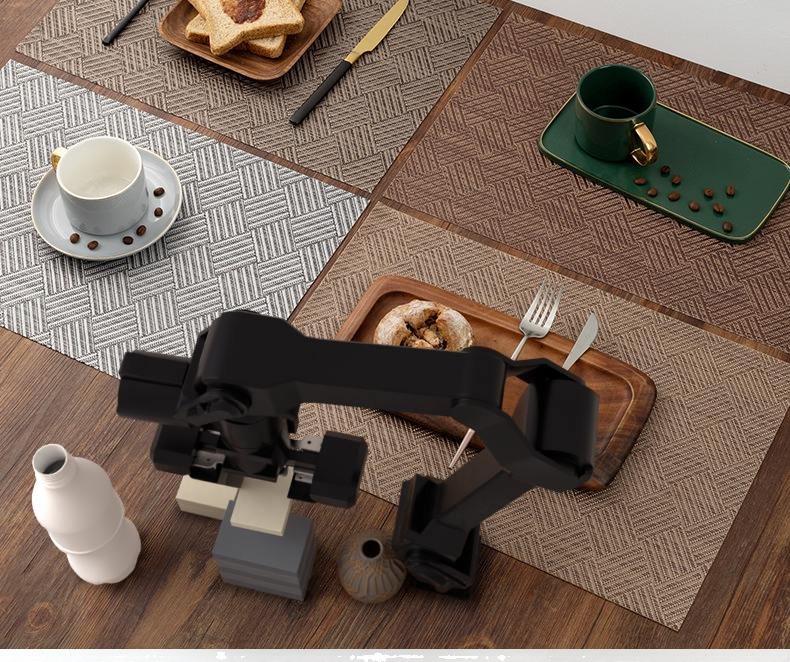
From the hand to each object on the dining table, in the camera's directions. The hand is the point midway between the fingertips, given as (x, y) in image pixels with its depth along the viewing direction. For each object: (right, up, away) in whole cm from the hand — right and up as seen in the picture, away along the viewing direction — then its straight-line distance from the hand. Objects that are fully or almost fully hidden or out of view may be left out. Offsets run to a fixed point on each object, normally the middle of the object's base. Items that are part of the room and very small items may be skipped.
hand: (268, 489), depth 108 cm
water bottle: (-17, -9, +10) cm, 22 cm away
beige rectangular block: (-7, -2, +14) cm, 16 cm away
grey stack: (-1, -10, +9) cm, 13 cm away
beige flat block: (0, 0, +1) cm, 1 cm away
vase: (+10, -11, +8) cm, 17 cm away
